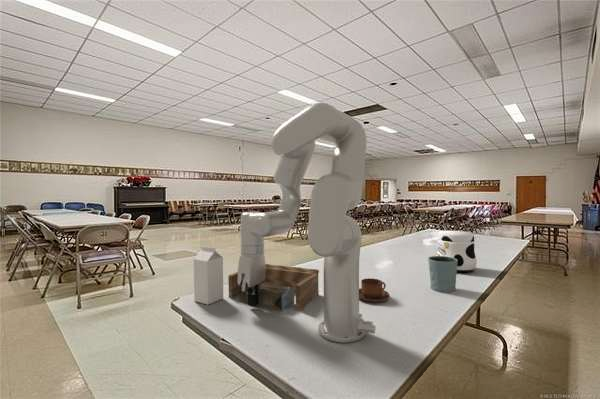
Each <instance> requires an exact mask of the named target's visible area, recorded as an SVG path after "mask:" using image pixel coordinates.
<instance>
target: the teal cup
mask: <svg viewBox="0 0 600 399" xmlns="http://www.w3.org/2000/svg"><path fill="white" fill-rule="evenodd" d="M427 259H428V261H427V262H428V266H429V267H428V268H429V278H430V279H429V281H430V289H431V290H432V291H433V292H437V293H441V294H442V293H443V294H453V293H455V292H456V287H457V286H456V285H457V284H456V283H457V262H458V260H457V259H455V258H452V257H446V256H436V255H433V256H429V257H428V258H427Z"/></svg>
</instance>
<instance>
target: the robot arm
mask: <svg viewBox="0 0 600 399" xmlns="http://www.w3.org/2000/svg"><path fill="white" fill-rule="evenodd" d="M318 139H321V140H323V141H327V142H331V143H333V144H335V145H336V148H335V149H334V151H333V155H332V158H331V159H332V160H331V170H330V173H326V174H324V175H322V176H320V177H319V178H318V179H317V180H316V182H315V183H314V185H313V188H312V190H311V195H310V203H309V213H308V222H307V223H308V225H307V240H308V244H309V247H310V248H311V250H312V251H313V252H314V253H315V254H316V255H318V256H320V257H324V258H323V320H322V321H321V322H320V323H319V324H318V327H317V330H318V333H319V335H321V337H322V338H324V339H326V340H328V341H331V342H336V343H353V342H357V341H360V340H361V339H363V338H364V337H365V335H366V332H367V333H370V334H376V329H377V328H376V325H374V322H373V321H369V320H364V319H363V313H360V299H359V289H360V255H361V254H360V253H361V245H362V230H361V227H360V224H359V223H358V221H356V219H354V218H353V217H352V216H349V215H347V211H350V210H353V209H355V208H356V207H357V206H358V205H359V204H360V202H361V199H362V193H363V185H364V184H363V183H364V173H365V163H366V161H365V160H366V153H367V142H368V139H367V134H366V131H365V128H364V127H363V126H362V124H361V123H360V122H359V121H358V120H356V119H355V118H354V117H352V116H351V115H348V114H346V113H345V112H344V111H341V110H340V109H338V108H336V107H334V106H333V105H331V104H328V103H326V102H318V103H317V102H316V103H314V104H311V105H310V106H308V107H306V108H304V109H303V110H302V111H300V112H299V113H297V114H295V115H293V117H291V118H290V119H289V120H287V121H285V122H284V123H283V124H282V125H281V126H280V127H279V128H277V130H275V132H274V133H273V135H272V138H271V149H272V151H273V152H274V154H276V155H277V156H278V157H280V158H279V160H278V164H277V167H276V170H275V172H274V174H273V180H274V183H275V184H277V185H278V186H279V187H280V189H281V192H282V193H281V194H282V198H281V202H280V205H279V207H278V210H275V211H267V212H266V211H265V212H261V211H244V212H242V213H241V214H240V255H239V259H238V266H237V267H238V268H237V272H238V285H239V286H242V291H244V292H247V294H248V303H247V305H248V306H250V307H257V306H259V291H260V285H261V284H262V283H263V281H264V280H265V277H266V265H265V264H266V256H265V238H269V237H274V236H277V235H282V234H286V233H287V232H289V231H290V230H291V229H292V228H293V226H294V224H295V223H296V220H297V218H298V214H299V213H300V212H299V211H300V209H301V200H302V199H301V197H302V196H301V194H302V193H301V185H302V183H303V180H304V177H305V174H306V173H307V170H308V167H309V165H310V162H311V160H312V157H313V154H314V152H315V150H316V140H318ZM250 287H251V288H250Z"/></svg>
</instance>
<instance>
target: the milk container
mask: <svg viewBox="0 0 600 399" xmlns="http://www.w3.org/2000/svg"><path fill="white" fill-rule="evenodd" d="M474 234H475V233H474V232H471V231H466V230H465V231H464V230H439V231H438V234H437V239H438V240H437V251H436V255H435V256H446V257H452V258H455V259H457V260H458V262H457V272H459V273H464V272H465V273H466V272H472V271H474V270H475V269H476V267H477V262H478V261H477V256H476V252H475V235H474Z"/></svg>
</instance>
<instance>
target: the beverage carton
mask: <svg viewBox="0 0 600 399" xmlns="http://www.w3.org/2000/svg"><path fill="white" fill-rule="evenodd" d="M239 288H240V294H239V301H240V302H243V303H247V304H248V294H247V292H244V291H242V286H239ZM250 288H251V287H250ZM293 305H295V292H294V288H291V287H286V286H282V285H277V284H273V283H268V282H263V283H262V284H261V285H260V291H259V305H258V306H259V307H264V308H267V309H271V310H275V311H281V312H284V311H285V310H286V309H288V308H290V307H292V306H293Z"/></svg>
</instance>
